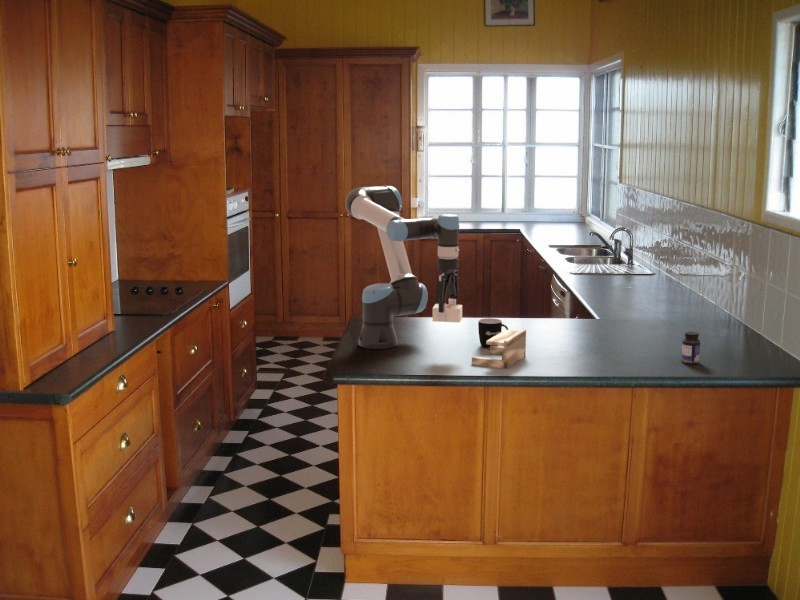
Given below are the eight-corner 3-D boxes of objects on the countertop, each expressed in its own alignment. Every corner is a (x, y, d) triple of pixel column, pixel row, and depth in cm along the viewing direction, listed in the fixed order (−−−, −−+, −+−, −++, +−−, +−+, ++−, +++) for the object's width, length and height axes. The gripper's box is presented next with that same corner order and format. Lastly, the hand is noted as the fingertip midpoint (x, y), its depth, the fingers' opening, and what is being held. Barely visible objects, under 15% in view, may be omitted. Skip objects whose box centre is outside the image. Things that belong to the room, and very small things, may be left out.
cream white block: (432, 321, 323) (432, 306, 322) (435, 317, 330) (435, 302, 329) (459, 322, 321) (459, 307, 320) (462, 318, 328) (462, 303, 327)
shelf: (471, 364, 317) (472, 337, 315) (491, 351, 333) (491, 326, 331) (507, 368, 311) (507, 341, 309) (525, 356, 327) (526, 329, 325)
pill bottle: (695, 360, 321) (697, 330, 318) (701, 364, 315) (703, 334, 312) (678, 360, 320) (680, 330, 318) (684, 365, 314) (686, 334, 312)
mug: (482, 349, 336) (482, 323, 334) (475, 344, 345) (475, 318, 343) (512, 348, 339) (512, 322, 337) (504, 342, 347) (504, 317, 345)
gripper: (445, 262, 310) (444, 325, 315) (468, 254, 328) (467, 313, 333) (426, 260, 313) (425, 323, 318) (450, 252, 331) (449, 311, 336)
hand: (447, 318), depth 325 cm, fingers closed on cream white block, 8 cm apart
